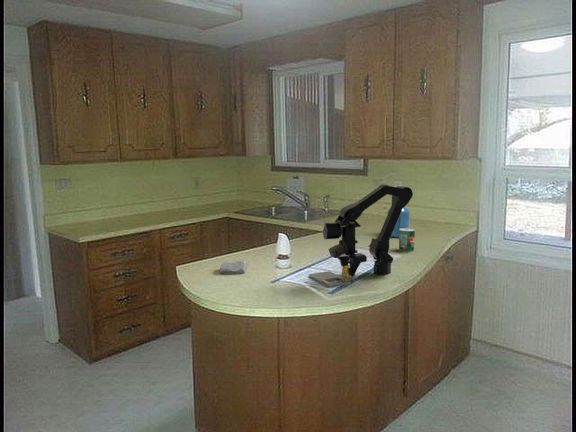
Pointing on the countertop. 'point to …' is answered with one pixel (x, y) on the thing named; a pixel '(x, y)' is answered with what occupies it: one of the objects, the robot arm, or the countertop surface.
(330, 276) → the rail plate
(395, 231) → the wine bottle
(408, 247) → the canned tomato
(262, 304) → the countertop surface
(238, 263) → the stone block
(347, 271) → the brass clip
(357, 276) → the tab
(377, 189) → the robot arm
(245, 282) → the countertop surface
